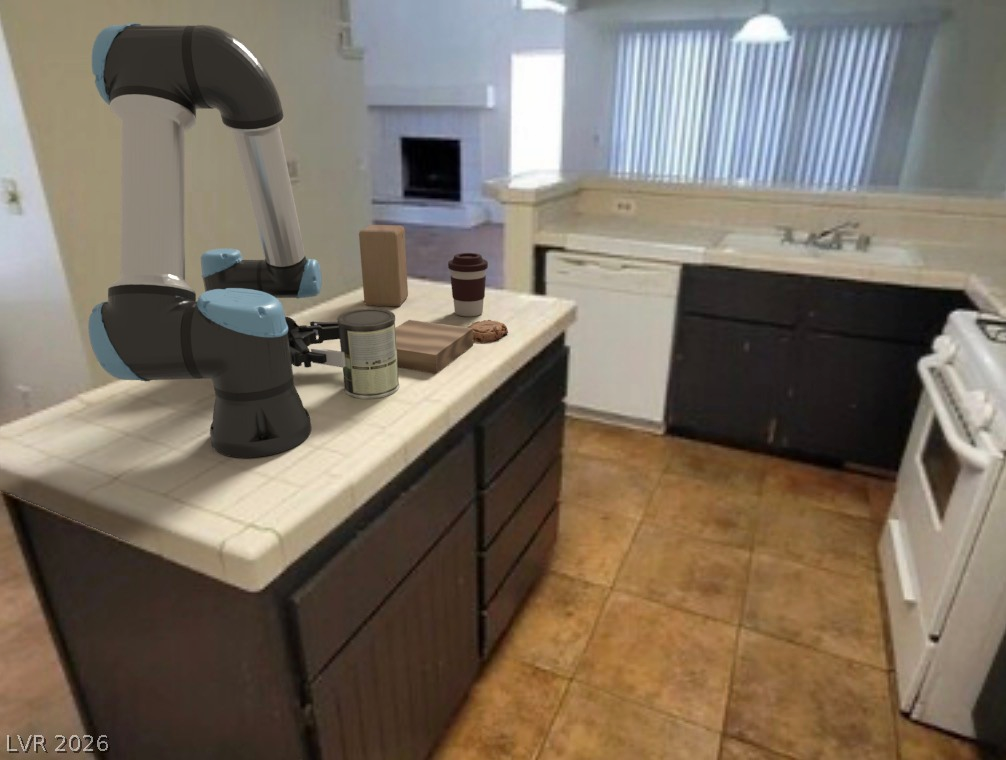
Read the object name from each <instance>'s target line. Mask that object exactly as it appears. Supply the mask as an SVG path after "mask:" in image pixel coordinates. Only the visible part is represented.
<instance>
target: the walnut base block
mask: <svg viewBox="0 0 1006 760" xmlns="http://www.w3.org/2000/svg"><path fill="white" fill-rule="evenodd" d="M467 327H468V326H467ZM467 327H465V326H459V325H451V324H444V323H438V322H428V321H420V320H413V319H408V320H406V321H404V322H402V323H401V324H399V325H397V326H395V333H396V348H397V364H398V369H399V368H400V369H406V370H412V371H417V372H418V371H419V372H425V373H431V374H438V373H439V372H441V371H442V370H443V369H444V368H446V367H447V366H448V365H450V364H451V363H452V362H454V361H455V360H456V359H457V358H458V357H460V356H461V355H462V354H464V353H465V352H466V351H468V350H469V349H471V348H472V347H473V346H474V340H473V328H467Z"/></svg>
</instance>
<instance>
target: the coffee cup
mask: <svg viewBox="0 0 1006 760" xmlns="http://www.w3.org/2000/svg"><path fill="white" fill-rule="evenodd" d="M447 264H448V265H447V266H448V267H447V268H448V269H449V271H450V283H451V297H452V299H453V307H454V313H455V315H457V316H460V317H466V318H467V317H468V318H471V317H472V318H473V317H478V316H480V315H482V313H484V312H483V311H484V299H485V297H486V296H485V295H486V279H487V277H486V270H487V269H488V266H489V264H488V260H486V259H483V257H482V255H481V254H480V253H476V252H462V253H457V254H454V256H453V258H452V259H450V260H448V263H447Z"/></svg>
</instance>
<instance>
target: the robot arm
mask: <svg viewBox="0 0 1006 760" xmlns="http://www.w3.org/2000/svg"><path fill="white" fill-rule="evenodd" d="M91 70H92V74H93V75H94V76H95V77H94V78H95V79H94V84H95V87H96V89H97V92H98V94H99V95H100V97H101V98H102V100H103V101H104V103H106V104H107V105H108V106H109V110H110V111H111V113H112V114H113V115H114V116H115V117H116V118H117V119H118V120H119V121H120V122H121V135H120V136H121V143H120V144H121V149H120V151H121V154H120V156H121V157H120V158H121V159H120V160H121V161H120V162H121V163H120V172H121V174H120V254H119V255H120V257H119V258H120V260H119V261H120V264H119V265H120V270H119V271H120V272H119V278H117V280H114V282H112V283H111V284H109V286H108V287H107V301H102V302H100V303H97V304H95V306H94V307H93V308H92V309H91V311H92V312H91V313H90V314H89V317H88V323H87V324H88V336H89V342H90V346H91V350H92V352H93V355H94V356H95V358H96V360H97V362H98V363H99V365H100V366H101V368H102V369H103V370H104V371H105V372H106V373H107V374H109V376H111V377H113V378H116V379H118V380H123V381H141V382H145V383H146V382H150V381H162V380H163V381H165V380H196V379H197V380H199V379H202V380H203V379H204V380H207V379H209V380H210V379H211V380H212V384H213V388H214V395H215V399H214V406H213V413H212V422H211V425H210V426H209V427H210V428H209V435H210V440H211V446H212V447H213V449H214V450H215V451H216V452H218V453H220V454H222V455H224V456H228V457H232V458H242V459H243V458H244V459H247V458H249V459H250V458H262V457H267V456H272V455H273V456H274V455H276V454H279V453H283V452H285V451H288V450H291V449H293V448H294V447H296V446H298V445H300V444H302V443H303V442H304V441H305V440H306V439H308V437H309V436H310V435H311V432H312V424H311V416H310V414H309V412H308V410H307V408H306V407H305V406H304V403H303V401H302V399H301V396H300V395H299V392H298V390H297V388H296V385H295V382H294V381H295V379H294V371H293V366H294V367H297V368H299V367H301V366H302V363H303V365H304V368H311V367H312V363H313V364H318V365H324V366H331V367H337V368H342V369H343V367H345V366H346V365H345V355H344V352H341V350H340V351H339V350H333V349H328V348H321V347H311V348H309V347H310V346H311V345H319V344H322V343H324V342H325V341H333V340H340V336H339V327H338V323H337V321H324V322H323V321H313V320H312V321H310V322H309V325H305V324H303V325H298V324H297V322H296V321H295V320H294V319H293V318H291V317H289V316H285V311H284V307H283V304H282V302H281V301H280V300H279V299H303V298H304V299H305V298H315V297H317V296H319V294H320V292H321V289H322V271H321V270H322V269H321V265H320V263H319V262H318V260H316V259H314V258H311V259H310V258H307V257H306V252H305V246H304V242H303V237H302V231H301V228H300V221H299V217H298V213H297V207H296V203H295V197H294V192H293V186H292V183H291V177H290V172H289V167H288V164H287V163H288V162H287V158H286V152H285V147H284V143H283V139H282V133H281V128H280V125H281V123H283V121H284V119H285V118H284V112H283V111H284V110H283V107H282V101H281V98H280V95H279V92H278V89H277V87H276V85H275V83H274V81H273V79H272V77H271V75H270V74H269V72H268V71H267V69H266V68H265V66H264V64H263V63H262V61H260V60H259V58H258V57H257V56H256V55H255V53H254V51H252V50H251V49H250V48H249V47H248V46H247V45H246V44H245V43H244V42H243V41H242V40H240V39H239V38H238V37H236V36H234V35H233V34H232V33H230V32H228V31H226V30H225V29H222V28H219V27H218V26H217V27H216V26H213V25H207V24H198V25H188V24H187V25H181V24H180V25H177V24H175V25H174V24H173V25H171V24H170V25H166V24H164V25H162V24H160V25H158V24H141V23H137V22H130V23H129V22H128V23H125V24H114V25H113V24H112V25H109V26H107V27H105V28H102V30H100V32H99V33H98V34H97V35H96V37H95V40H94V43H93V46H92V50H91ZM199 109H201V110H203V109H204V110H205V109H208V110H209V109H210V110H211V109H216V110H217V111H219V113H220V117H221V120H222V124H223V126H225V128H227V129H228V130H230V131H231V133H232V136H233V141H234V144H235V148H236V152H237V157H238V161H239V164H240V168H241V171H242V175H243V179H244V184H245V187H246V190H247V194H248V195H247V196H248V198H249V203H250V207H251V211H252V214H253V217H254V222H255V226H256V230H257V234H258V237H259V242H260V246H261V250H262V253H263V257H264V259H244V257H243V255H242V252H241V251H240V250H239V249H236V248H228V247H227V248H214V249H210V250H209V249H208V250H207V251H204V252H203V253H202V254H201V256H200V267H201V268H200V269H201V278H202V281H203V287H204V290H205V291H204V292H201V294H200V295H199V296H198V299H197V293H196V291H195V290H194V288H192V287H191V286H190V285H189V284H188V283H187V282H186V133H187V132H189V131H191V130H192V129H193V128H195V126H196V122H197V110H199ZM196 299H197V300H196ZM317 337H318V338H317Z"/></svg>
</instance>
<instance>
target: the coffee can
mask: <svg viewBox="0 0 1006 760" xmlns="http://www.w3.org/2000/svg"><path fill="white" fill-rule="evenodd" d="M336 322H337V323H338V327H339V336H340V339H339V345H340V351H341V352H344V355H345V365H346V366H345V367H343V368H342V373H343V374H342V375H343V383H344V389H343V390H344V392H345V394H346V395H348V396H350V397H351V398H356V399H361V400H372V399H373V400H374V399H381V398H384V397H388V396H390V395H393V394H394V393H396V392H397V391H398V390H399V388H400V382H399V367H398V364H397V348H396V333H395V328H396V315H395V313H393V311H389V310H387V309H380V308H361V309H354V310H349V311H346V312H344V313H341V314H339V316H338V317H337V318H336Z"/></svg>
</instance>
